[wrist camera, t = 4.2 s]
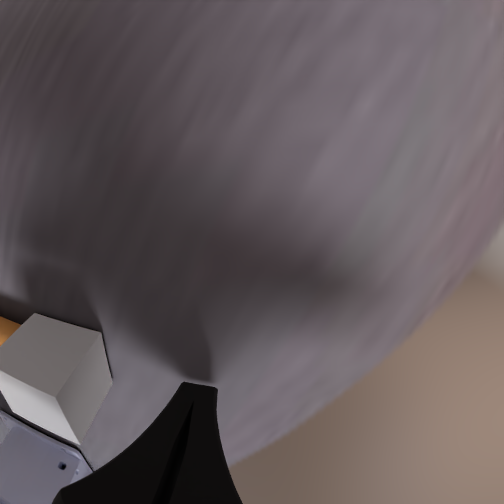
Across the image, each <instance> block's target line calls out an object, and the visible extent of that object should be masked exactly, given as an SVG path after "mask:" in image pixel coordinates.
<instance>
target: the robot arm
mask: <svg viewBox="0 0 504 504" xmlns="http://www.w3.org/2000/svg"><path fill="white" fill-rule="evenodd" d="M217 393H218V389H217V388H215V387H211V386H205V385H199V384H193V383H188V382H183V383H181V385H180V386H179V388H178V390H177V391H176V393H175V394H174V396H173V397H172V399H171V400H170V401H169V403H168V404H167V406H166V407H165V408H164V409H163V411H162V412H161V413H160V414H159V416H158V417H157V418H156V419H155V420H154V422H153V423H152V424H151V425H150V426H149V427H148V428H147V429H146V430H145V431H144V432H143V433H142V434H141V435H140V436H139V437H138V438H137V439H136V440H135V441H134V442H133V443H132V444H131V445H130V446H129V447H127V448H126V449H125V450H124V451H123V452H122V453H120V454H119V455H118V456H116V457H115V458H114V459H112V460H111V461H110V462H108V463H107V464H105V465H104V466H102V467H101V468H99V469H98V470H96V471H94V472H92V470H91V469H90V467H89V466H88V464H87V463H86V461H85V460H84V458H83V457H82V455H81V454H80V452H79V451H78V450H76V449H74V448H72V447H70V446H68V445H65V444H63V443H61V442H59V441H57V440H55V439H53V438H50V437H48V436H46V435H44V434H42V433H40V432H38V431H37V430H35V429H33V428H31V427H29V426H27V425H25V424H24V423H22V422H20V421H18V420H17V419H15V418H13V417H12V416H10V415H8V414H7V413H5V412H3V411H2V410H0V417H1V418H2V420H3V421H4V423H5V424H6V426H7V427H8V428H9V430H10V431H9V433H8V435H7V436H6V438H5V439H4V441H3V442H2V444H1V446H0V504H243V503H242V501H241V499H240V497H239V495H238V493H237V491H236V488H235V486H234V483H233V481H232V478H231V475H230V473H229V469H228V466H227V463H226V460H225V456H224V453H223V449H222V444H221V440H220V435H219V429H218V422H217V411H216V409H217Z"/></svg>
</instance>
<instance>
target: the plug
mask: <svg viewBox="0 0 504 504" xmlns="http://www.w3.org/2000/svg"><path fill="white" fill-rule="evenodd" d="M112 384H113V382H112V378H111V374H110V370H109V366H108V362H107V358H106V353H105V349H104V344H103V339H102V334H101V332H97V331H93V330H90V329H86V328H82V327H79V326H75V325H72V324H68V323H65V322H62V321H59V320H55V319H52V318H49V317H46V316H43V315H40V314H37V313H34V314H33V315H32V316H31V317H30V318H28V319H27V320H26V321H25V322H24V323H23V324H22V325H20V324H18V323H15V322H13V321H10V320H8V319H5V318H3V317H1V316H0V390H1V392H2V394H3V396H4V398H5V399H6V401H7V403H8V404H9V406H10V408H11V409H12V411H13V412H14V413H16V414H18V415H19V416H21V417H23V418H25V419H27V420H28V421H30V422H32V423H34V424H36V425H38V426H40V427H42V428H44V429H46V430H48V431H50V432H52V433H54V434H56V435H59V436H61V437H63V438H65V439H67V440H70V441H72V442H74V443H77V444H79V445H81V443H82V441H83V439H84V437H85V435H86V433H87V431H88V429H89V427H90V425H91V424H92V422H93V420H94V418H95V416H96V414H97V412H98V410H99V408H100V406H101V404H102V403H103V401H104V399H105V397H106V395H107V393H108V392H109V390H110V388H111V386H112Z"/></svg>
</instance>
